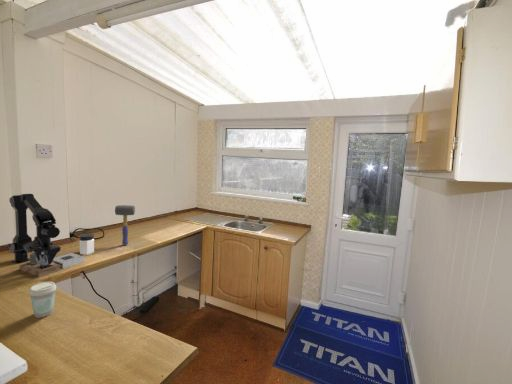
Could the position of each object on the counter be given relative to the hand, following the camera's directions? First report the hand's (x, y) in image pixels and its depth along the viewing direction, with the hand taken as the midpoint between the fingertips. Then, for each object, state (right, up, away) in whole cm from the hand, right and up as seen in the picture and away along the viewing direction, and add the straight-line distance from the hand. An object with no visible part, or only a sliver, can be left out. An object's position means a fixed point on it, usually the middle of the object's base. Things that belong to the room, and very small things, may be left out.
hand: (44, 262), depth 138 cm
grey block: (0, -5, +1) cm, 6 cm away
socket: (+2, -4, +14) cm, 14 cm away
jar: (+3, -2, +31) cm, 31 cm away
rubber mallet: (+19, -1, +49) cm, 52 cm away
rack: (-4, -5, +2) cm, 7 cm away
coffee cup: (+29, -12, -35) cm, 47 cm away
